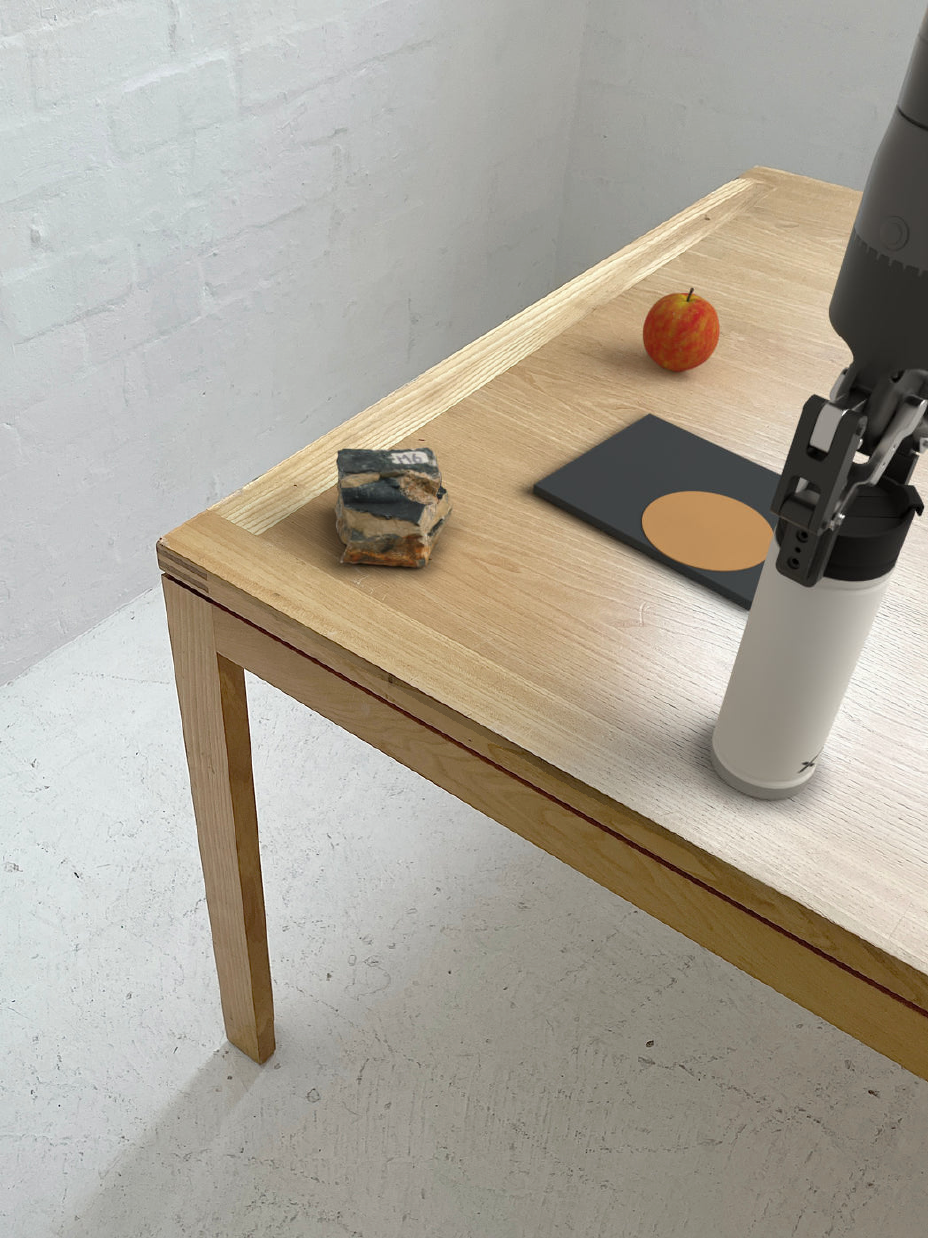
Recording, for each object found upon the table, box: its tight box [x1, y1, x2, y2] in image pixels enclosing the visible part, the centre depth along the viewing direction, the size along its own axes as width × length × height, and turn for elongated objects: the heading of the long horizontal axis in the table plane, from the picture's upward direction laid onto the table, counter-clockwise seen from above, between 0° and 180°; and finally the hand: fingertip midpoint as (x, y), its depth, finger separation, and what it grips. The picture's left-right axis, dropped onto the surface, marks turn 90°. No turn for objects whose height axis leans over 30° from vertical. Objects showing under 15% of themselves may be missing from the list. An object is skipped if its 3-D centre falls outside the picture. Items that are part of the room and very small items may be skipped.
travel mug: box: [708, 475, 925, 801], centre depth 62 cm, size 6×7×20 cm
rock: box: [334, 446, 454, 568], centre depth 82 cm, size 9×9×6 cm
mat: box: [532, 413, 781, 611], centre depth 89 cm, size 20×16×1 cm
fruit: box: [642, 287, 721, 373], centre depth 104 cm, size 7×7×8 cm
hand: (837, 541), depth 58 cm, fingers open, 8 cm apart
